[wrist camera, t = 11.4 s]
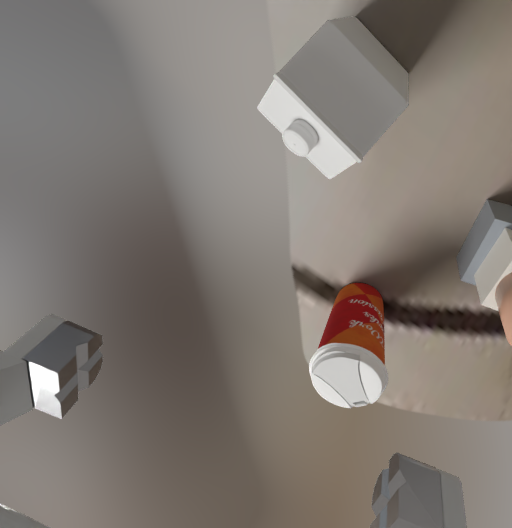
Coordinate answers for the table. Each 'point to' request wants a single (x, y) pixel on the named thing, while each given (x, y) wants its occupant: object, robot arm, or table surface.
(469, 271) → the tower base block
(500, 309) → the peach rounded cylinder
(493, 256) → the tower top block
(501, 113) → the table surface
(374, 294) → the paper cup
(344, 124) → the milk carton
